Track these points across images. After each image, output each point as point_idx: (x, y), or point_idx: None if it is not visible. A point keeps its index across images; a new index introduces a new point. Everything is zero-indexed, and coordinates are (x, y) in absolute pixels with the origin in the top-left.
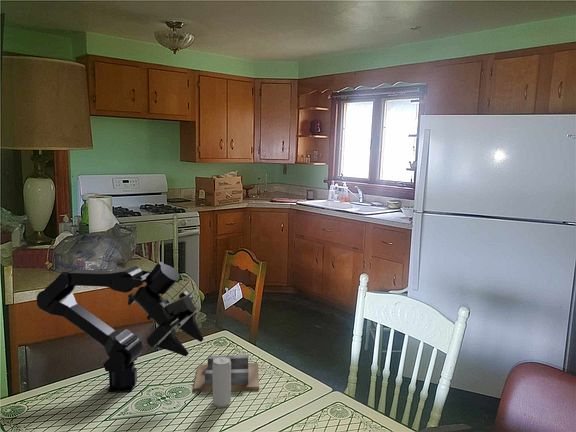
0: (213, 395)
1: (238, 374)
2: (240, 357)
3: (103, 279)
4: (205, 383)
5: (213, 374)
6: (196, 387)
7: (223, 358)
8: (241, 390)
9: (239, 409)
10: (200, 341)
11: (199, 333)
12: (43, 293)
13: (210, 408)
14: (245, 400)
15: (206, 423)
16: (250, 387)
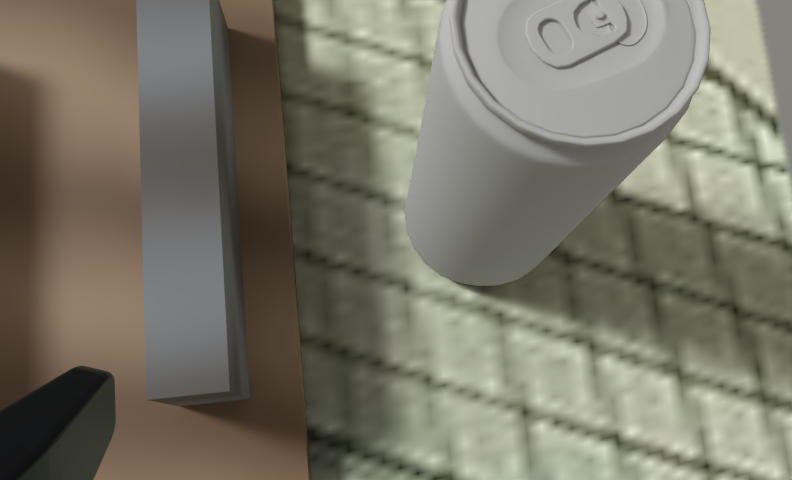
0: (541, 258)
1: (214, 59)
2: None
3: None
4: (247, 393)
5: (611, 190)
6: (293, 475)
7: (511, 11)
8: (280, 90)
9: None
10: (109, 438)
11: (3, 472)
12: None
13: (563, 295)
14: (426, 50)
15: (763, 290)
16: (272, 11)
